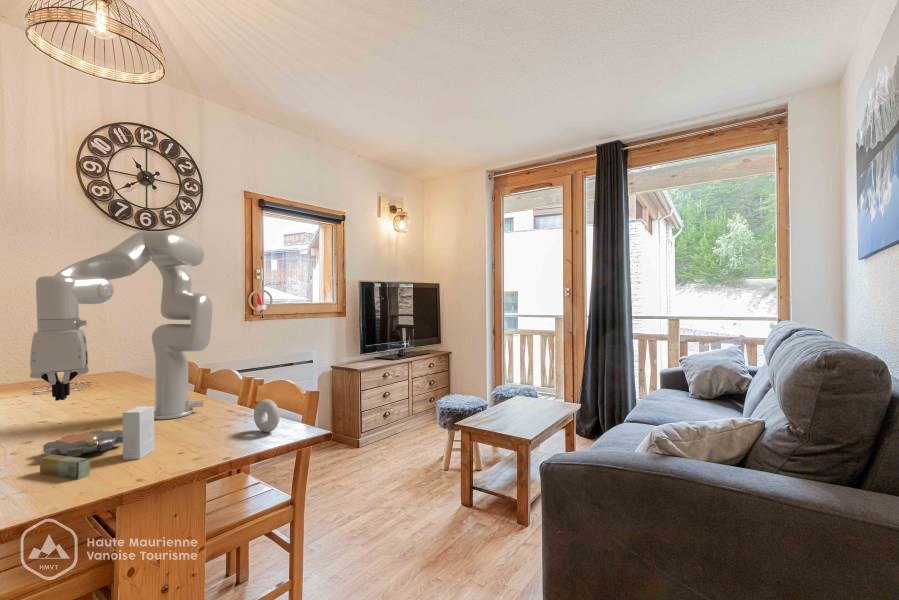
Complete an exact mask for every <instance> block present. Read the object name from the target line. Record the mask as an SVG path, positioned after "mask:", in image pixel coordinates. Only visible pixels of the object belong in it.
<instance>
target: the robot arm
mask: <svg viewBox="0 0 899 600" xmlns="http://www.w3.org/2000/svg"><path fill="white" fill-rule="evenodd" d="M204 259H205V251H204V249H203V247H202V246H201V244H199V243H198V241H197V242H196V241H195V240H192V239H190V238H187V237H185V236H183V235H180V234H178V233H175V232H171V231H163V230H162V231H156V230H155V231H151V230H150V231H149V230H148V231H147V230H146V231H145V230H144V231H138V232H136V233H134V234H133V235H131V236H130V237H128V238H126V239H124V241H122V242H120V243H119V244H117V245H116V246H114V247H113V248H112V249H110V250H109V251H107V252H103V253H100V254H96V255H95V256H91V257H89V258H85V259H82V260H80V261H77V262H74V263H72V264H70V265H68V266H66V267H65V268H63V269H62V270H60V271H58V272H57V273H55V274H54V275H44V276H39V277H38V278H37V279H36V281H35V296H36V297H35V298H36V300H35V301H36V319H37V320H36V326H37V331H35V332H33V335H32V340H31V346H30V354H29V369H30V373H29V377H30V378H31V379H37V380H38V379H39V380H40V379H41V380H44V381H45V382H47V383H49V385H50V386H51V396H52V397H53V398H54V399H55V402H56V401H65V400H66V399H67V397H68V396H70V392H71V391H70V390H71V389H70V385H71V384H70V382H71V381H72V380H73V379H74V378H76V377H79V376H81V375H84V374H87V373H89V371H90V369H89V367H88V364H89V355H88V354H89V353H88V344H87V337H86V334H85V331H84V330H83V329H80V328H82V327H83V326H87V324H88V323H87V322H88V321H87V320H84V319H83V320H82V319H80V315H79V313H80V311H79V309H80V308H79V305H98V304H102V303H103V304H104V303H105V302H107V301H109V300H110V299H111V298H112V297H113V295H114V292H115V289H114V286H113V284H112V282H111V281H110V280H117V279H121V278H125V277H129V276H132V275H133V274H135V273H137V272H138V271H139V270H140V269H142V268H143V266H146V265H147V264H148V263H149V262H150V261H151V262H152V263H153V265H154V266H155V267H156V268H157V270H158V271H159V273H160V275H161V277H162V289H161V297H160V298H161V299H160V313H161V316H162V317H163V319H164V318H165V319H166V320H172V321H173V320H174V321H190V323H165V324H160V325H159V326H157V327H155V329H154V330H153V332H152V335H151V342H152V347H153V350H154V351H153V352H154V360H155V371H154V373H155V374H154V375H155V378H154V379H155V380H154V382H155V383H154V384H155V385H154V387H155V389H154V390H155V391H154V392H155V393H154V395H155V397H154V398H155V399H154V400H155V404H154V405H155V406H154V420H171V419H177V418H182V417H187V416H189V415H191V414H192V413H193V412H194V408H201V407H204V401H203V400H201V401H199V400H194V401H192V400H190V398H189V360H188V358H187V357H186V355H185V353H184V352H201V351H204V350H205V349H207V347H209V344H210V340H211V332H212V323H213V322H212V321H213V320H212V319H213V303H212V300H211V298H210V296H208V295H207V294H205V293H201V292H200V293H199V292H198V293H197V292H192V278H191V276H190V273H189V272H188V270H187V269H186V268H185V267H197V266H199V265H200V264H202V262H203V261H204ZM61 372H63V375H62V380H60V378H59V375H58V373H61Z"/></svg>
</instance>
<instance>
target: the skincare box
mask: <svg viewBox="0 0 899 600" xmlns="http://www.w3.org/2000/svg"><path fill="white" fill-rule="evenodd" d="M154 411H155V406H151V405H150V406H149V405H148V406H139V405H138V406H136V407H133V408H131V409H128V410H126V411H123V412H122V431H123V443H122V460H124V461H125V460H141V459H143V458H144V457H146V456H148V455H149V454H150V453H152V452H154V451H155V419H154Z"/></svg>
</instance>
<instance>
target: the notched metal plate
mask: <svg viewBox="0 0 899 600" xmlns="http://www.w3.org/2000/svg"><path fill="white" fill-rule="evenodd" d="M117 444H123V429H122V430H120V429H116V430H103V429H98V430H91V431H90V432H83V433H80V434H74V433H72V434H69V435H65V436H61V438H60V439H56V440H55V441H48V442H46V443H45V444H44V445H43V446H42V447H43V448H42V449H43V452H44V457H46V456H50V455H60V456H69V457H79V456H82V455H84V454H83V453H86V454H90V453H89V452H91V453H95V452H103V451H106V450H110V449H113V446H115V445H117Z"/></svg>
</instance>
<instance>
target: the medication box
mask: <svg viewBox="0 0 899 600" xmlns="http://www.w3.org/2000/svg"><path fill="white" fill-rule="evenodd" d="M39 460H40V463H39V475H43V476H49V477H56V478H63V479H69V480H74V481H75V480H76V481H78V480H81V479H85V478H87V477H89V476H90V472H91V471H90V469H91V468H90V467H91V458H85V457H79V456H72V457H69V456H67V455H50V456H43V457H40V459H39Z"/></svg>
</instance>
